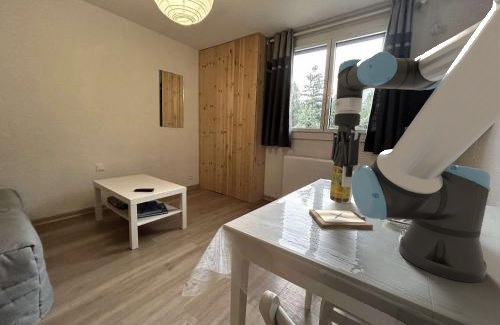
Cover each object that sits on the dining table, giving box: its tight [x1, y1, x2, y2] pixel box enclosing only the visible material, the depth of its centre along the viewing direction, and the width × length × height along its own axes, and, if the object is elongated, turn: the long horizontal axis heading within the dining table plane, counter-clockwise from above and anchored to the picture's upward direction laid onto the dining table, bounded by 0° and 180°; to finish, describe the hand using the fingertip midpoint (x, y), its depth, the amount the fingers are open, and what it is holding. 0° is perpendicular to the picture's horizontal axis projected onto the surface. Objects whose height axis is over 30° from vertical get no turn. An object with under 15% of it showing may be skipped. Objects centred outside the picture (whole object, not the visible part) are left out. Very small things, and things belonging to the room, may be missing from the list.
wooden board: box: [308, 208, 374, 230], centre depth 72 cm, size 13×16×2 cm
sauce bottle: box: [329, 142, 354, 204], centre depth 70 cm, size 7×6×20 cm
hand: (341, 183), depth 70 cm, fingers closed on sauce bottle, 6 cm apart
